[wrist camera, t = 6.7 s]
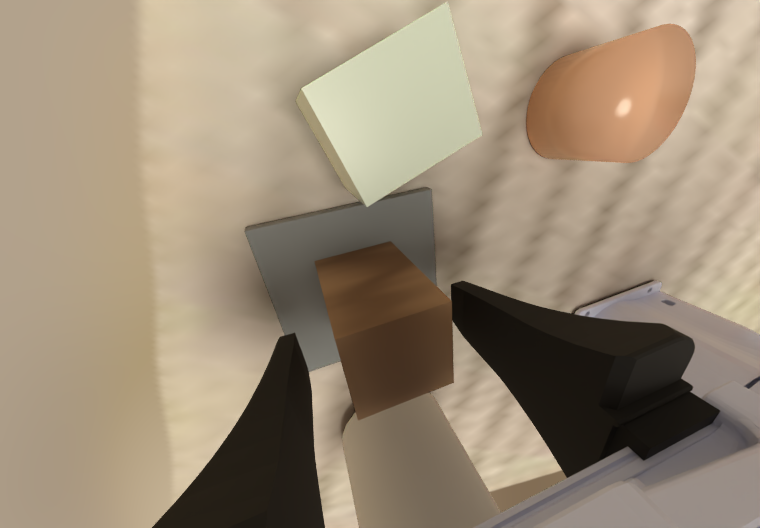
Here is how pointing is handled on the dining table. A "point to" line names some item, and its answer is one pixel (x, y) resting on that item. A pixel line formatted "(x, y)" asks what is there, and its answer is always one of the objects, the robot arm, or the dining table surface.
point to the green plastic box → (394, 107)
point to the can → (413, 470)
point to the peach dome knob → (613, 97)
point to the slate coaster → (330, 238)
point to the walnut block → (387, 326)
